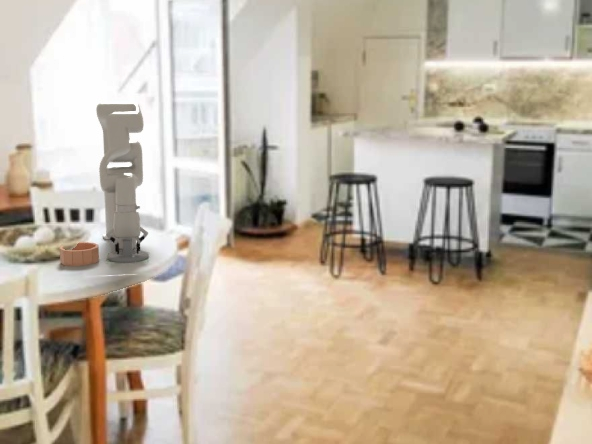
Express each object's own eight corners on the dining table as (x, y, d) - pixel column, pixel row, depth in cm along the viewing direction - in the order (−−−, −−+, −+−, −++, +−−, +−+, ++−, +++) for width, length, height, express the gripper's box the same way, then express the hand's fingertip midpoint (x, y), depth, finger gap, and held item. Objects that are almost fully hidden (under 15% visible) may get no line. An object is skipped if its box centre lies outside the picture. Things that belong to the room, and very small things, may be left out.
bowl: (63, 257, 286) (62, 242, 285) (100, 256, 289) (99, 241, 288) (58, 267, 273) (57, 251, 272) (97, 265, 275) (96, 250, 274)
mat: (108, 254, 292) (108, 253, 292) (149, 252, 295) (149, 251, 295) (105, 264, 277) (105, 263, 277) (148, 263, 280) (148, 262, 280)
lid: (108, 253, 292) (107, 236, 291) (149, 251, 295) (148, 235, 294) (105, 263, 277) (104, 245, 275) (148, 262, 280) (148, 244, 278)
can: (131, 251, 297) (130, 222, 294) (114, 250, 298) (113, 221, 296) (139, 247, 304) (138, 219, 302) (122, 246, 306) (121, 218, 303)
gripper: (149, 206, 287) (150, 250, 291) (103, 207, 284) (105, 251, 288) (149, 209, 280) (150, 254, 283) (102, 210, 277) (104, 256, 280)
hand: (127, 252), depth 285 cm, fingers open, 6 cm apart
